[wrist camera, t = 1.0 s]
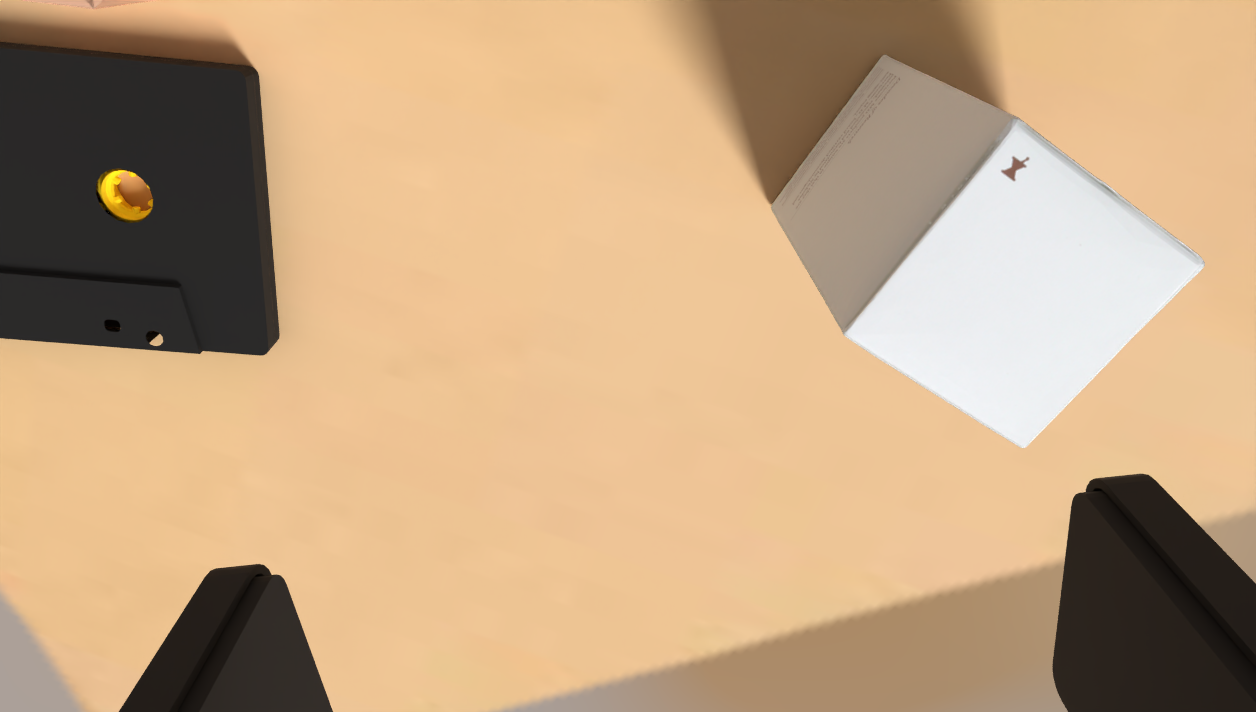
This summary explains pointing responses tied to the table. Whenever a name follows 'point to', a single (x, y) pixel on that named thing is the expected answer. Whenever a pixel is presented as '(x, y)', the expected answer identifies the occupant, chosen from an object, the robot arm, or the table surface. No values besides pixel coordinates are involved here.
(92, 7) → the bowl
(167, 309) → the cassette tape
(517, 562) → the table surface
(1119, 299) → the supplement box
